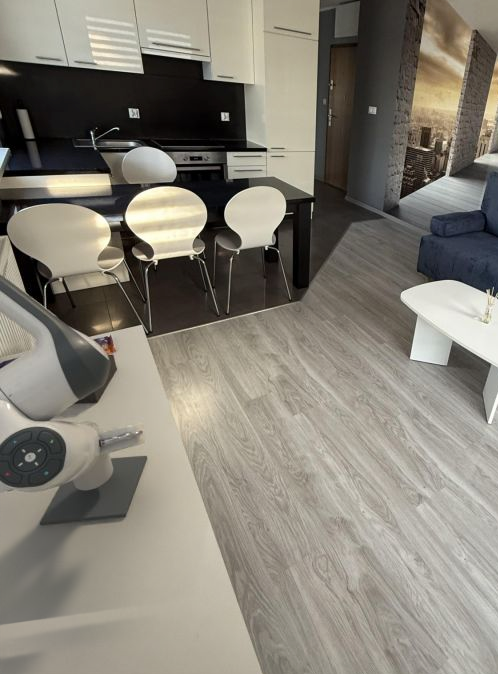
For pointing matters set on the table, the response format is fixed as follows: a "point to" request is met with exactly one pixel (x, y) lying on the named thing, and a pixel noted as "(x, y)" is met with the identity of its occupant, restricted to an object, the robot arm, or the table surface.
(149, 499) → the table surface
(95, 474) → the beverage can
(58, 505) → the mat
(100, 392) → the blender base
